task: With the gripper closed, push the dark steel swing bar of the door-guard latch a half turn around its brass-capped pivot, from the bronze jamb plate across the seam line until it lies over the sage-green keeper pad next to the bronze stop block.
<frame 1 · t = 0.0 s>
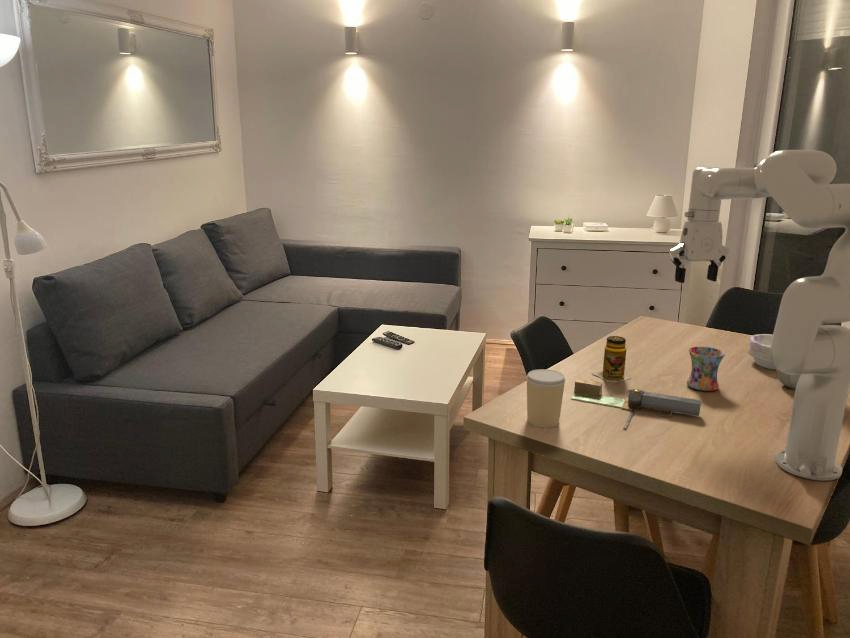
hand: (695, 281, 184), 31 cm above the table, tool pointing down, fingers open, 9 cm apart
condiment: (611, 377, 204), on the table
jamb plate: (635, 406, 182), on the table
swing bar: (663, 401, 179), point 3 cm above the table, hinge at 0.0°
paper bowls: (773, 366, 215), on the table
coffee cup: (543, 421, 172), on the table
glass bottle: (793, 387, 197), on the table
mug: (703, 386, 197), on the table
keeper: (599, 392, 187), on the table
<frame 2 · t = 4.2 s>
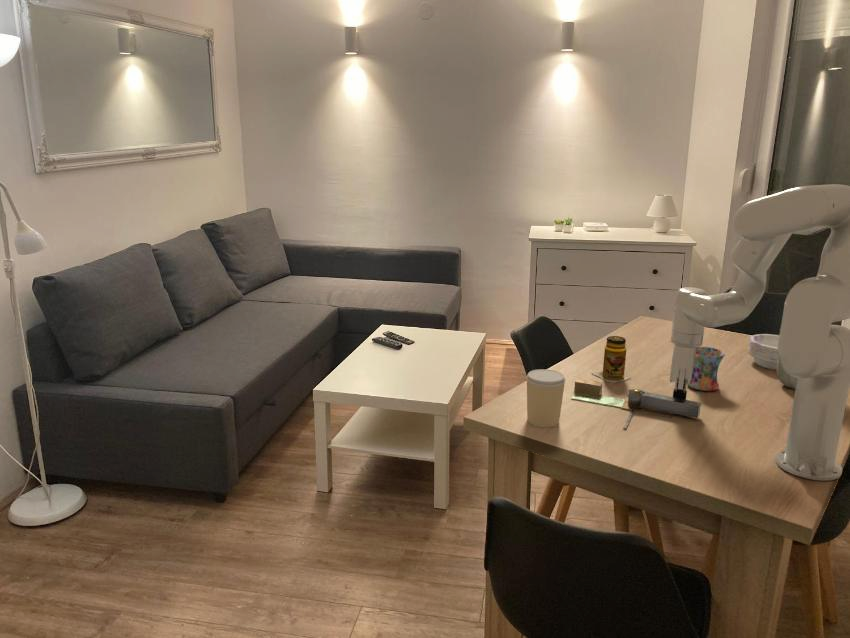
hand: (678, 405, 180), 1 cm above the table, tool pointing down, fingers closed
swing bar: (663, 402, 178), point 3 cm above the table, hinge at 6.0°, touching gripper
everything else where it was.
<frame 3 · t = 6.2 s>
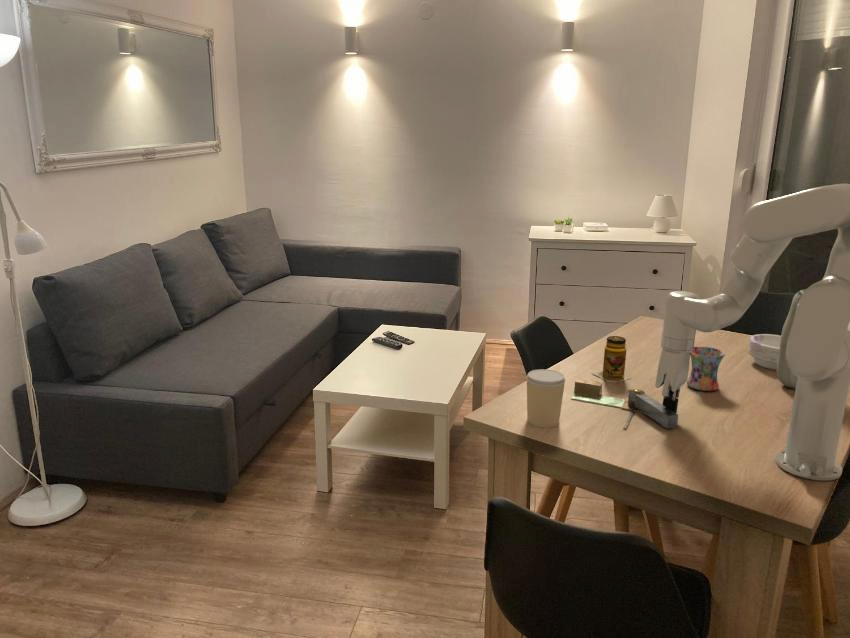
hand: (669, 412, 174), 2 cm above the table, tool pointing down, fingers closed
swing bar: (651, 406, 175), point 3 cm above the table, hinge at 48.7°, touching gripper
everything else where it was.
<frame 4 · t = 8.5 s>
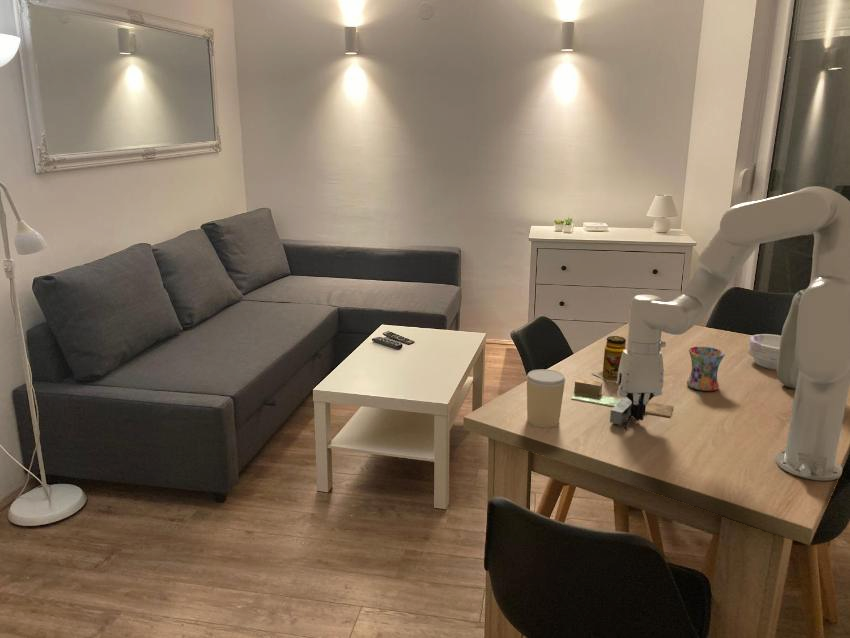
hand: (637, 417, 172), 1 cm above the table, tool pointing down, fingers closed
swing bar: (627, 405, 176), point 3 cm above the table, hinge at 98.7°, touching gripper
everything else where it was.
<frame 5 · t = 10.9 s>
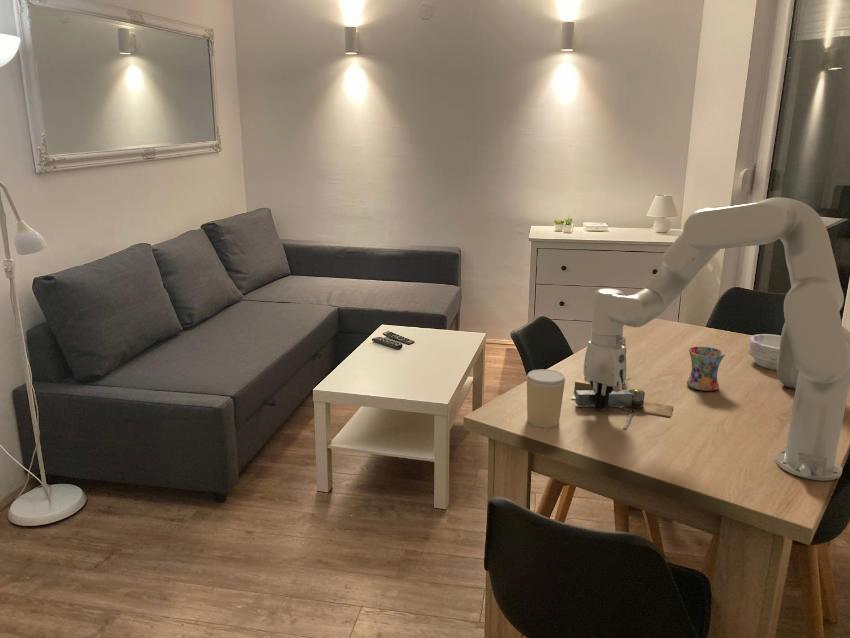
hand: (601, 407, 178), 1 cm above the table, tool pointing down, fingers closed
swing bar: (610, 397, 181), point 3 cm above the table, hinge at 151.7°, touching gripper
everything else where it was.
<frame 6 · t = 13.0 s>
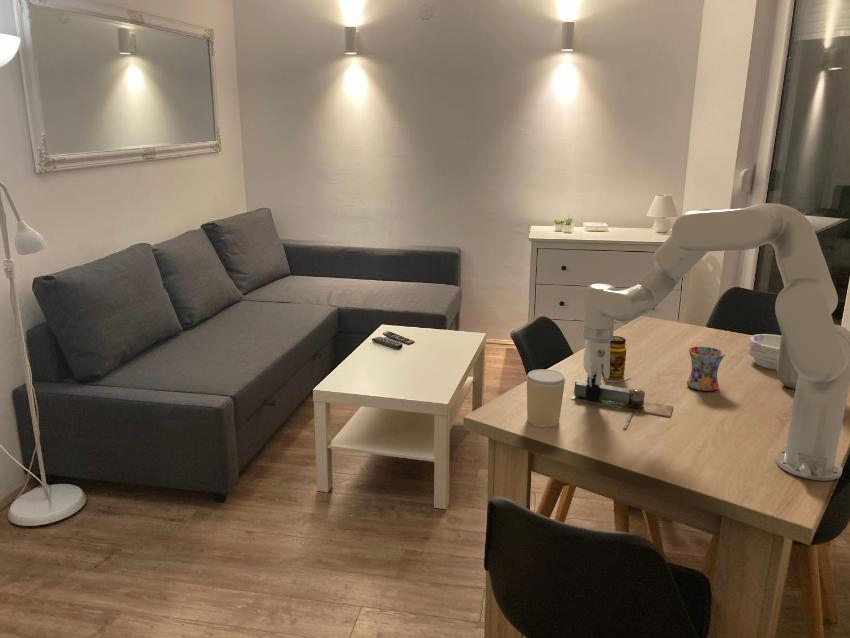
hand: (592, 399, 183), 1 cm above the table, tool pointing down, fingers closed
swing bar: (609, 392, 184), point 3 cm above the table, hinge at 179.0°
everything else where it was.
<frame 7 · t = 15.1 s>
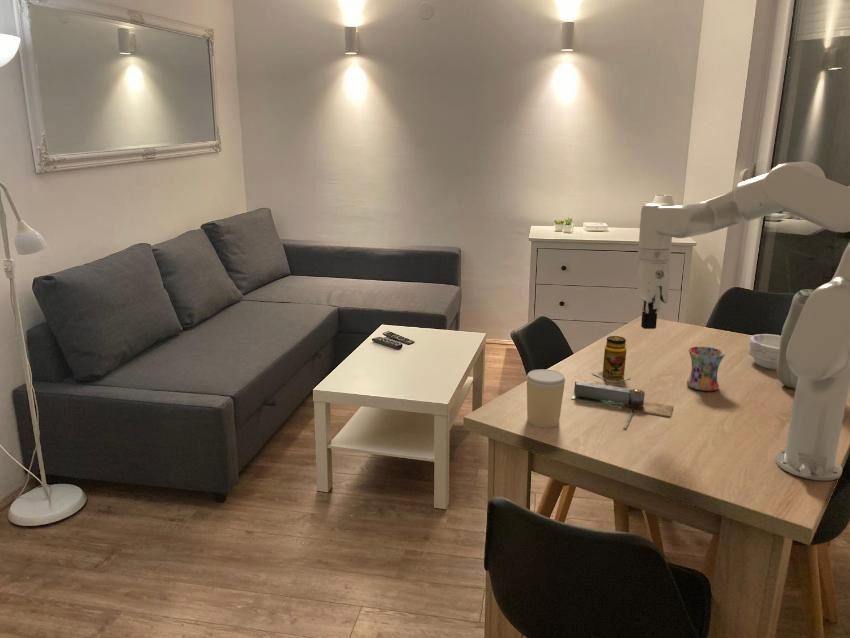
hand: (648, 327, 174), 22 cm above the table, tool pointing down, fingers closed
nothing on the table moved.
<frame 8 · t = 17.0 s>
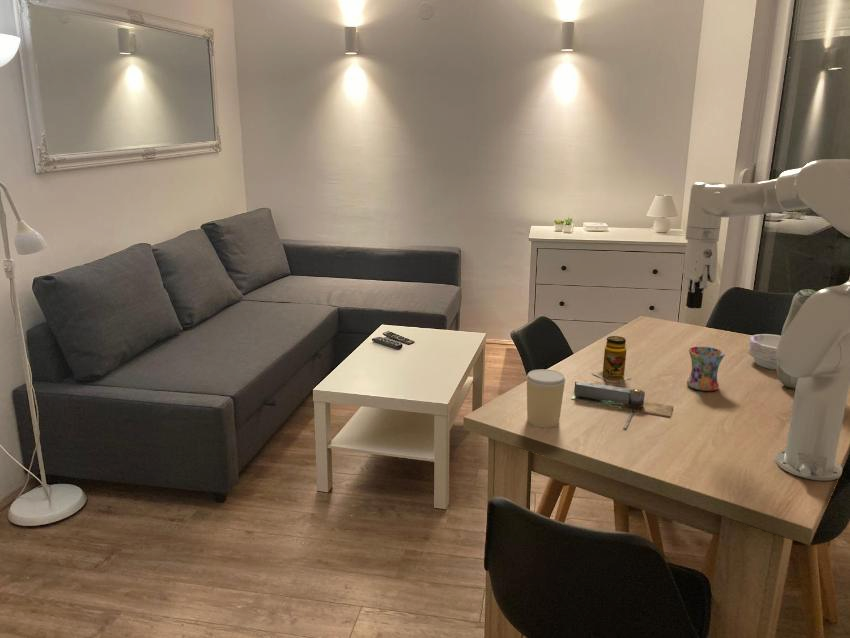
hand: (693, 307, 174), 27 cm above the table, tool pointing down, fingers closed
nothing on the table moved.
at the end: swing bar at +179° (first picture: +0°) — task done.
